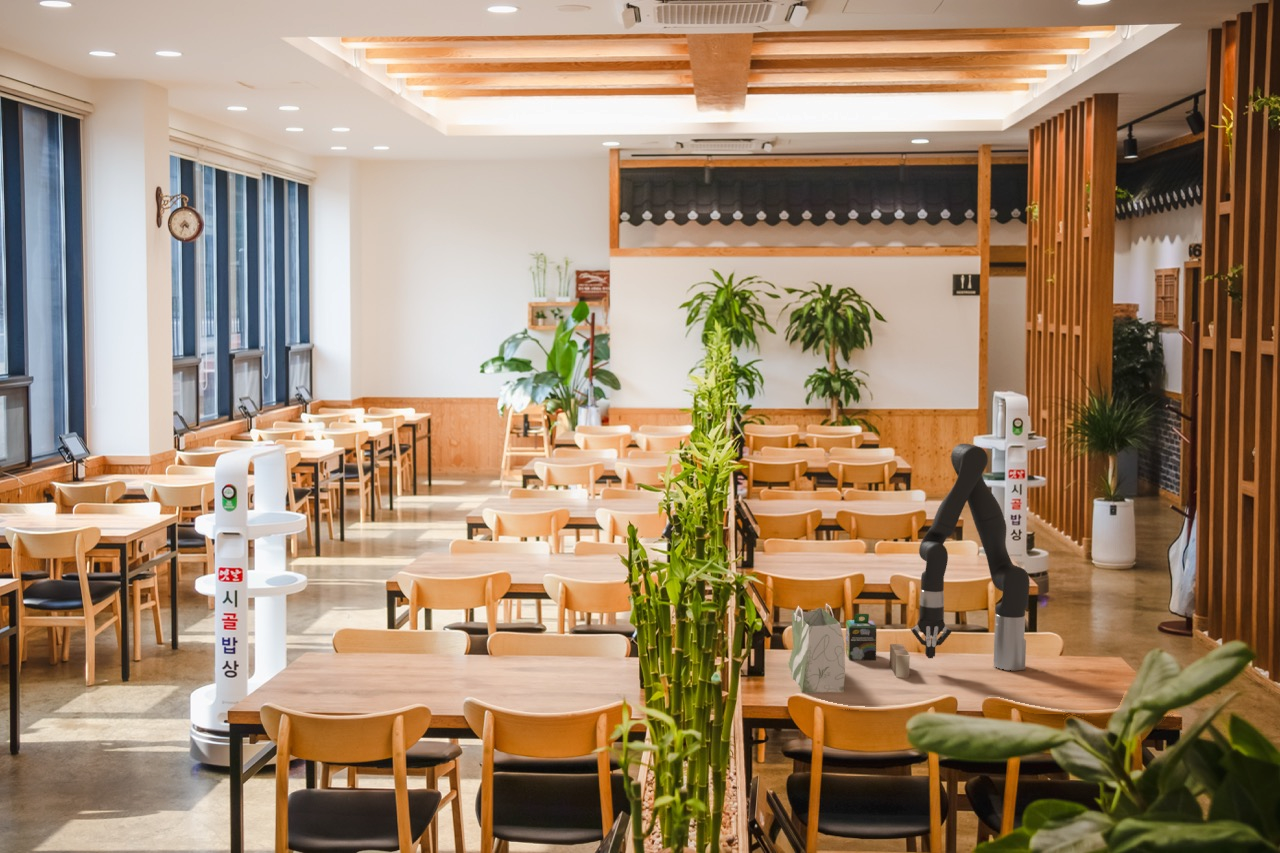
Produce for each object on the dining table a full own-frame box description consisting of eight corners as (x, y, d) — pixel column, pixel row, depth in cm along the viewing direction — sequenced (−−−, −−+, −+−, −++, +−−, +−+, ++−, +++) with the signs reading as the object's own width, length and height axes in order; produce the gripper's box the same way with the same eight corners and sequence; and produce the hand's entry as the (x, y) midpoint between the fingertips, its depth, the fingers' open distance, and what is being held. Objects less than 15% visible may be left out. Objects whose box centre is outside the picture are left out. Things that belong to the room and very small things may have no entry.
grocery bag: (784, 664, 421) (785, 593, 419) (826, 664, 421) (828, 593, 419) (800, 693, 389) (801, 616, 387) (846, 692, 390) (847, 616, 388)
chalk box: (872, 653, 435) (873, 609, 434) (876, 660, 426) (877, 616, 425) (844, 653, 435) (845, 609, 434) (848, 660, 426) (849, 615, 425)
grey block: (909, 677, 406) (902, 665, 420) (909, 655, 406) (902, 644, 419) (896, 677, 406) (889, 665, 420) (896, 655, 406) (890, 644, 420)
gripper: (912, 606, 407) (911, 660, 409) (955, 606, 407) (953, 661, 408) (908, 600, 415) (907, 654, 416) (950, 601, 414) (948, 655, 416)
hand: (930, 657), depth 412 cm, fingers closed
